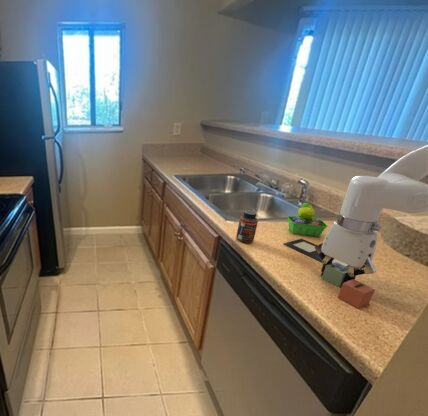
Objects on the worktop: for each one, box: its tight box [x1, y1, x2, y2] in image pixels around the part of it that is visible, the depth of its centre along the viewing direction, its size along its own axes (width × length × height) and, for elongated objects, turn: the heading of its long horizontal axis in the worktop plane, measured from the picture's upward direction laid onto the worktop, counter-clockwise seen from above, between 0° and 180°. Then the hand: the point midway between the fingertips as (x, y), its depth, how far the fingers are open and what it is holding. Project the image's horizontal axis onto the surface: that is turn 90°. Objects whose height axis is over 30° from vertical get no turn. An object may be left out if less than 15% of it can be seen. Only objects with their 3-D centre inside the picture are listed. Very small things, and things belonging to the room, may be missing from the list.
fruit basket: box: [287, 202, 328, 237], centre depth 107 cm, size 11×9×11 cm
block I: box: [337, 278, 376, 309], centre depth 71 cm, size 5×5×5 cm
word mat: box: [282, 238, 366, 269], centre depth 93 cm, size 20×10×1 cm, turn 22°
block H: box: [321, 262, 348, 288], centre depth 78 cm, size 5×5×5 cm
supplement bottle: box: [235, 209, 259, 244], centre depth 101 cm, size 6×6×11 cm
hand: (335, 279), depth 79 cm, fingers closed on block H, 4 cm apart
